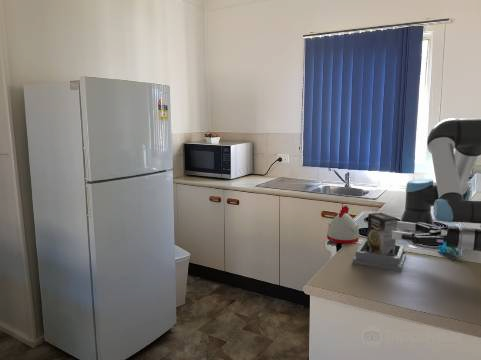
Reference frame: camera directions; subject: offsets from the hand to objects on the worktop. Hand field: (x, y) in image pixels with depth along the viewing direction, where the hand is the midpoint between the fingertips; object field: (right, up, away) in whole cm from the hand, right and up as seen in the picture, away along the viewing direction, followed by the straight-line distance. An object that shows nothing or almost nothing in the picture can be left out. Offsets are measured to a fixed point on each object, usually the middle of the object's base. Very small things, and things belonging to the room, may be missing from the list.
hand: (394, 229), depth 146 cm
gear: (+26, -11, +10) cm, 30 cm away
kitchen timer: (-12, -8, +30) cm, 33 cm away
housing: (-4, -12, +5) cm, 14 cm away
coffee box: (-4, -11, +4) cm, 12 cm away
